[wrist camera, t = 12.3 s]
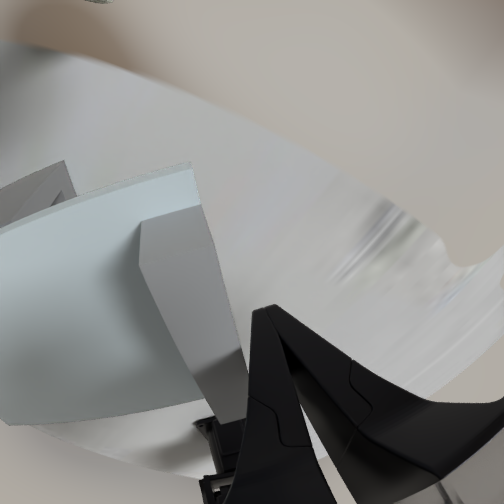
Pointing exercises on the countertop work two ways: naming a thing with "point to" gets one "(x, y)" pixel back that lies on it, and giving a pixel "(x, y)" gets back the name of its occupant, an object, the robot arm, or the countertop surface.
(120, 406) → the lid
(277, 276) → the countertop surface
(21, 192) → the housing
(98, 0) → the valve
